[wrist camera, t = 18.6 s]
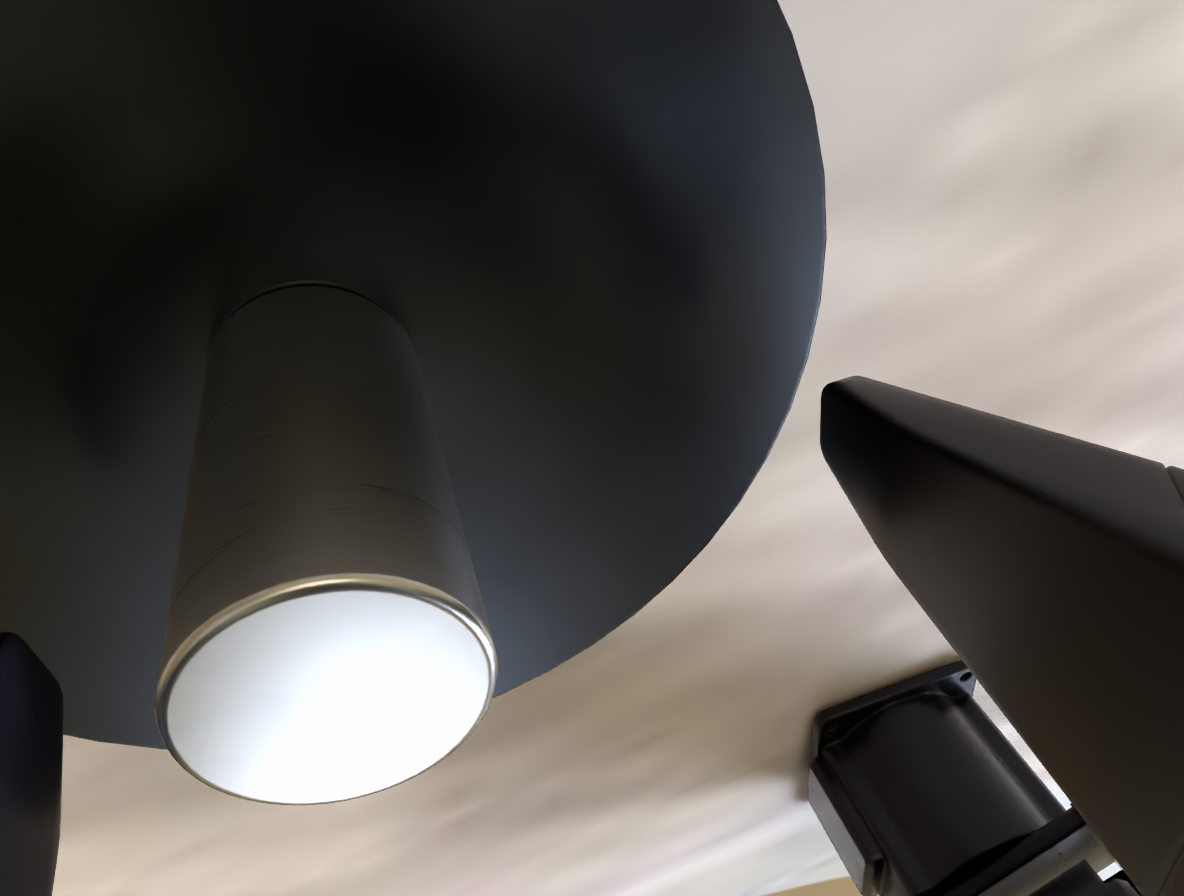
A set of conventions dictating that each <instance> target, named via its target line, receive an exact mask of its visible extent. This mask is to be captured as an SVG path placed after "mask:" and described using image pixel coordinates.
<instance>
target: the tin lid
mask: <svg viewBox="0 0 1184 896" xmlns="http://www.w3.org/2000/svg"><path fill="white" fill-rule="evenodd" d="M825 249H826V208H825V176H824V168H823V162H822V156H821V150H820V143H819V137H818V131H817V125H816V118H815V112H814V106H813V102H812V99H811V96H810V92H809V89H808V86H807V82H806V79H805V76H804V72H803V69H802V66H801V62H800V59H799V56H798V52H797V49H796V45H795V42H794V39H793V35H792V32H791V30H790V28H789V26H788V24H787V21H786V19H785V17H784V15H783V12H782V10H781V8H780V6H779V3H778V1H777V0H0V633H1V632H13V633H16V634H17V635H19V636H20V637H21V638H22V639H24V641H25V642H26V643H27V644H28V645H29V647H30V648H31V649H32V650H33V651H34V653H35V654H36V655H37V656H38V657H39V658H40V660H41V661H42V662H43V663H44V664H45V666H46V667H47V668H48V669H49V670H50V672H51V673H52V674H53V675H54V676H55V678H56V679H57V681H58V683H59V685H60V687H61V690H62V693H63V699H64V714H63V735H68V736H73V737H78V738H83V739H88V740H93V741H98V742H106V743H115V744H123V745H132V746H141V747H149V748H158V749H168V750H169V751H170V753H171V755H172V756H173V758H174V759H175V760H176V761H177V762H178V763H179V764H180V765H181V766H182V767H183V768H184V769H185V770H186V771H187V772H188V773H190V774H191V775H192V776H194V777H195V778H196V779H198V780H199V781H201V782H203V783H205V784H206V785H208V786H210V787H212V788H214V789H216V790H219V791H221V792H224V793H226V794H229V795H232V796H235V797H239V798H242V799H246V800H251V801H256V802H262V803H269V804H280V805H313V804H326V803H333V802H339V801H346V800H350V799H354V798H359V797H363V796H367V795H370V794H373V793H377V792H380V791H383V790H386V789H388V788H391V787H393V786H396V785H398V784H401V783H403V782H405V781H407V780H409V779H411V778H413V777H415V776H418V775H419V774H421V773H423V772H425V771H426V770H428V769H430V768H431V767H433V766H435V765H436V764H437V763H439V762H440V761H442V760H443V759H444V758H446V757H447V756H448V755H450V754H451V753H452V752H453V751H454V750H455V749H456V748H458V747H459V746H460V745H461V744H462V743H463V742H464V741H465V740H466V739H467V738H468V736H469V735H470V734H471V733H472V732H473V731H474V729H475V728H476V727H477V725H478V724H479V722H480V721H481V720H482V718H483V716H484V714H485V712H486V710H487V708H488V707H489V704H490V701H491V698H494V697H496V696H499V695H501V694H504V693H506V692H508V691H510V690H512V689H514V688H516V687H518V686H520V685H522V684H524V683H526V682H528V681H530V680H532V679H534V678H536V677H538V676H540V675H543V674H545V673H547V672H549V671H550V670H552V669H554V668H555V667H557V666H559V665H560V664H562V663H564V662H565V661H567V660H569V659H570V658H572V657H574V656H575V655H577V654H579V653H580V652H582V651H584V650H585V649H587V648H589V647H590V646H592V645H594V644H595V643H596V642H598V641H599V640H600V639H602V638H603V637H605V636H606V635H607V634H609V633H610V632H611V631H613V630H614V629H616V628H617V627H618V626H620V625H621V624H622V623H624V622H625V621H627V620H628V619H629V618H631V617H632V616H633V615H635V614H636V613H637V612H638V611H639V610H640V609H642V608H643V607H644V606H645V605H646V604H647V603H648V602H650V601H651V600H652V599H653V598H654V597H655V596H656V595H658V594H659V593H660V592H661V591H662V590H663V589H664V588H665V587H667V586H668V585H669V584H670V583H671V582H672V581H673V580H674V579H675V578H676V577H677V576H678V575H679V574H680V573H681V572H682V571H683V570H684V569H685V568H686V566H687V565H688V564H689V563H690V562H691V561H692V560H693V559H694V558H695V557H696V556H697V555H698V554H699V553H700V552H701V551H702V550H703V548H704V547H705V546H706V545H707V544H708V543H709V542H710V540H711V539H712V538H713V536H714V535H715V534H716V533H717V531H718V530H719V529H720V527H721V526H722V525H723V523H724V522H725V521H726V520H727V518H728V517H729V516H730V514H731V513H732V512H733V510H734V509H735V508H736V507H737V505H738V504H739V503H740V501H741V499H742V498H743V496H744V494H745V493H746V491H747V490H748V488H749V486H750V485H751V483H752V482H753V480H754V478H755V477H756V475H757V473H758V472H759V470H760V469H761V467H762V465H763V464H764V462H765V460H766V459H767V457H768V455H769V453H770V451H771V448H772V446H773V444H774V442H775V440H776V438H777V436H778V434H779V432H780V430H781V427H782V425H783V423H784V421H785V419H786V417H787V415H788V413H789V411H790V408H791V405H792V402H793V400H794V397H795V394H796V391H797V388H798V385H799V382H800V379H801V376H802V373H803V371H804V368H805V365H806V362H807V359H808V356H809V351H810V347H811V342H812V337H813V333H814V328H815V324H816V319H817V315H818V310H819V305H820V301H821V292H822V281H823V270H824V260H825Z"/></svg>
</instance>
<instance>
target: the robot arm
mask: <svg viewBox="0 0 1184 896" xmlns="http://www.w3.org/2000/svg"><path fill="white" fill-rule="evenodd" d="M820 444H821V450H822V453H823V456H824V458H825V460H826V462H827V464H828V465H829V467H830V469H831V471H832V472H833V474H834V476H835V477H836V479H837V481H838V482H839V484H840V486H841V487H842V489H843V491H844V492H845V494H846V496H847V497H848V499H849V501H850V502H851V504H852V506H853V507H854V509H855V511H856V512H857V514H858V516H859V517H860V519H861V521H862V522H863V524H864V526H865V527H866V529H867V531H868V532H869V534H870V536H871V537H872V539H873V541H874V542H875V544H876V546H877V547H878V549H879V550H880V552H881V553H882V555H883V557H884V558H885V559H886V561H887V562H888V564H889V565H890V566H891V568H892V569H893V570H894V572H895V573H896V575H897V576H898V577H899V578H900V580H901V581H902V582H903V584H904V585H905V586H906V588H907V589H908V590H909V591H910V593H911V594H912V595H913V597H914V598H915V599H916V601H917V602H918V603H919V605H920V606H921V607H922V608H923V610H924V611H925V612H926V614H927V615H928V616H929V618H930V619H931V620H932V621H933V623H934V624H935V625H936V627H937V628H938V629H939V631H940V632H941V633H942V634H943V636H944V637H945V638H946V640H947V641H948V642H949V644H950V645H951V646H952V647H953V649H954V650H955V651H956V653H957V654H958V655H959V657H960V658H961V659H962V660H960V661H957V662H954V663H951V664H949V665H946V666H943V667H941V668H938V669H935V670H932V671H930V672H927V673H924V674H922V675H919V676H916V677H913V678H911V679H908V680H905V681H902V682H900V683H897V684H894V685H892V686H889V687H886V688H883V689H881V690H878V691H875V692H873V693H870V694H867V695H864V696H862V697H859V698H856V699H853V700H851V701H848V702H845V703H843V704H840V705H837V706H834V707H832V708H829V709H826V710H824V711H822V712H821V713H819V714H818V715H817V716H816V717H815V719H814V721H813V743H812V759H811V762H810V764H809V777H808V801H809V803H810V805H811V806H812V808H813V810H814V812H815V814H816V815H817V817H818V819H819V821H820V822H821V824H822V826H823V828H824V830H825V831H826V833H827V835H828V837H829V838H830V840H831V842H832V844H833V845H834V847H835V849H836V851H837V853H838V854H839V856H840V858H841V860H842V861H843V863H844V865H845V867H846V869H847V870H848V872H849V874H850V876H851V877H852V879H853V881H854V883H855V884H856V886H857V888H858V890H859V891H860V893H861V895H863V896H878V895H879V896H1184V469H1180V468H1177V467H1174V466H1169V467H1167V468H1165V466H1164V465H1163V464H1162V463H1159V462H1156V461H1152V460H1149V459H1145V458H1142V457H1138V456H1135V455H1132V454H1128V453H1125V452H1121V451H1118V450H1114V449H1111V448H1107V447H1104V446H1100V445H1097V444H1093V443H1090V442H1087V441H1083V440H1080V439H1076V438H1073V437H1069V436H1066V435H1062V434H1059V433H1055V432H1052V431H1049V430H1045V429H1042V428H1038V427H1035V426H1031V425H1028V424H1024V423H1021V422H1017V421H1014V420H1010V419H1007V418H1004V417H1000V416H997V415H993V414H990V413H986V412H983V411H979V410H976V409H972V408H969V407H966V406H962V405H959V404H955V403H952V402H948V401H945V400H941V399H938V398H934V397H931V396H928V395H924V394H921V393H917V392H914V391H910V390H907V389H903V388H900V387H896V386H893V385H889V384H886V383H883V382H879V381H876V380H872V379H869V378H865V377H862V376H852V377H848V378H845V379H842V380H838V381H835V382H832V383H829V384H827V385H826V386H825V387H824V388H823V391H822V395H821V421H820ZM976 679H977V680H978V681H979V683H980V684H981V685H982V687H983V688H984V689H985V690H986V692H987V693H988V694H989V696H990V697H991V698H992V700H993V701H994V702H995V703H996V705H997V706H998V707H999V709H1000V710H1001V711H1002V713H1003V714H1004V715H1005V717H1006V718H1007V719H1008V720H1009V722H1010V723H1011V724H1012V726H1013V727H1014V728H1015V730H1016V731H1017V732H1018V733H1019V735H1020V736H1021V737H1022V739H1023V740H1024V741H1025V743H1026V744H1027V745H1028V746H1029V748H1030V749H1031V750H1032V752H1033V753H1034V754H1035V756H1036V757H1037V758H1038V759H1039V761H1040V762H1041V763H1042V765H1043V766H1044V767H1045V769H1046V770H1047V771H1048V773H1049V774H1050V775H1051V776H1052V778H1053V779H1054V780H1055V782H1056V783H1057V784H1058V786H1059V787H1060V788H1061V789H1062V791H1063V792H1064V793H1065V795H1066V796H1067V797H1068V799H1069V800H1070V801H1071V802H1072V803H1071V804H1070V805H1071V806H1072V807H1071V808H1070V809H1068V810H1067V811H1066V810H1065V808H1064V807H1063V806H1062V805H1061V804H1060V802H1059V801H1058V800H1057V799H1056V797H1055V796H1054V795H1053V794H1052V793H1051V791H1050V790H1049V789H1048V788H1047V787H1046V785H1045V784H1044V783H1043V782H1042V781H1041V779H1040V778H1039V777H1038V776H1037V775H1036V773H1035V772H1034V771H1033V770H1032V769H1031V767H1030V766H1029V765H1028V764H1027V763H1026V761H1025V760H1024V759H1023V758H1022V757H1021V755H1020V754H1019V753H1018V752H1017V751H1016V749H1015V748H1014V747H1013V746H1012V745H1011V743H1010V742H1009V741H1008V740H1007V739H1006V737H1005V736H1004V735H1003V734H1002V733H1001V731H1000V730H999V729H998V728H997V727H996V725H995V724H994V723H993V722H992V720H991V719H990V718H989V717H988V716H987V714H986V713H985V712H984V711H983V710H982V708H981V707H980V706H979V705H978V704H977V702H976V701H975V700H974V699H973V698H972V696H973V691H974V686H975V682H976ZM63 714H64V699H63V693H62V690H61V687H60V685H59V683H58V681H57V679H56V678H55V676H54V675H53V674H52V673H51V672H50V670H49V669H48V668H47V667H46V666H45V664H44V663H43V662H42V661H41V660H40V658H39V657H38V656H37V655H36V654H35V653H34V651H33V650H32V649H31V648H30V647H29V645H28V644H27V643H26V642H25V641H24V639H22V638H21V637H20V636H19V635H17V634H16V633H13V632H1V633H0V896H52V890H53V883H54V876H55V870H56V863H57V855H58V847H59V838H60V823H61V794H62V754H63ZM1113 862H1116V864H1117V865H1118V866H1119V867H1120V868H1121V871H1119V872H1117V873H1116V874H1114V875H1113V876H1111V877H1110V878H1108V879H1106V880H1105V881H1103V880H1102V879H1101V878H1100V877H1099V875H1098V874H1097V873H1098V872H1099V871H1101V870H1102V869H1104V868H1106V867H1107V866H1109V865H1110V864H1112V863H1113Z"/></svg>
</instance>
